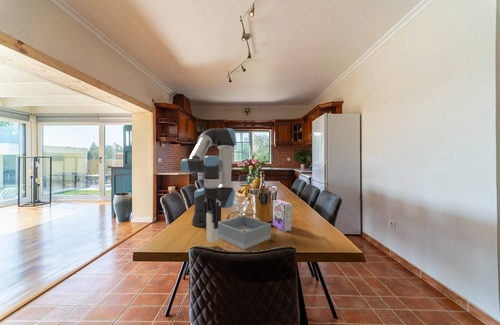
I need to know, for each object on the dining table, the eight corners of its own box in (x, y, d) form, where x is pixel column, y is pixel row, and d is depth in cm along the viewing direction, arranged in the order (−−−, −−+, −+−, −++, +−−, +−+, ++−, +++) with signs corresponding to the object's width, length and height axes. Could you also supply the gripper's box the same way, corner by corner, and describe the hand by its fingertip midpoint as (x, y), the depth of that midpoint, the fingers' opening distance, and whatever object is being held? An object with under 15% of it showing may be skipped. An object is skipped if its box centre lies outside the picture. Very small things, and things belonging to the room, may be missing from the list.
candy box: (272, 225, 140) (272, 200, 139) (280, 224, 142) (280, 199, 141) (283, 232, 127) (283, 204, 126) (292, 230, 129) (292, 203, 129)
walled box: (217, 237, 119) (217, 222, 119) (243, 228, 133) (243, 215, 133) (244, 249, 103) (244, 233, 103) (270, 238, 117) (271, 223, 117)
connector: (206, 240, 107) (206, 210, 106) (213, 238, 110) (213, 209, 109) (211, 243, 104) (210, 212, 104) (217, 240, 107) (217, 210, 106)
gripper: (195, 185, 109) (196, 230, 110) (215, 190, 97) (216, 240, 98) (208, 184, 114) (208, 227, 116) (228, 188, 102) (228, 236, 104)
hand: (212, 233), depth 107 cm, fingers closed on connector, 4 cm apart
